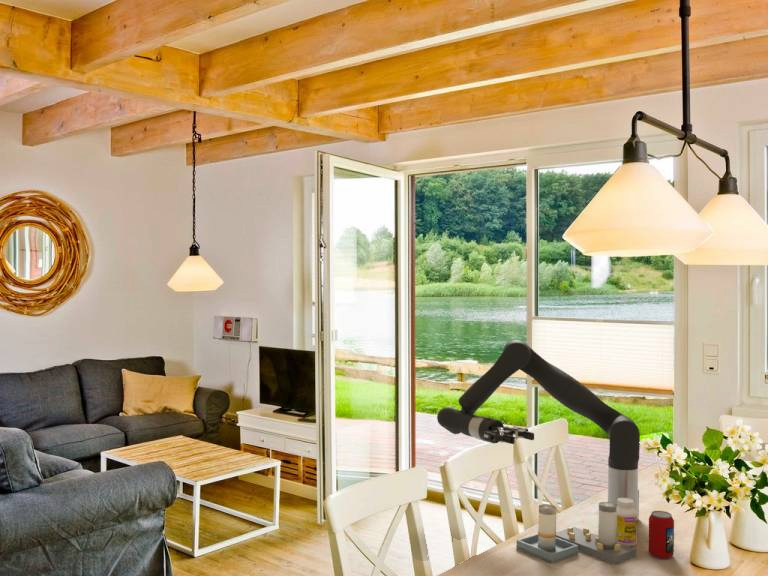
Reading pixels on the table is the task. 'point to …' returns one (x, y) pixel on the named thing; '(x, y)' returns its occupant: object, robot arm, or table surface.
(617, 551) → the block
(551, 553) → the tray
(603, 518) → the cylinder
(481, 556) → the table surface
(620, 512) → the supplement bottle
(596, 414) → the robot arm
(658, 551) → the beverage can
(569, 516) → the table surface
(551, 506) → the marked fuse
